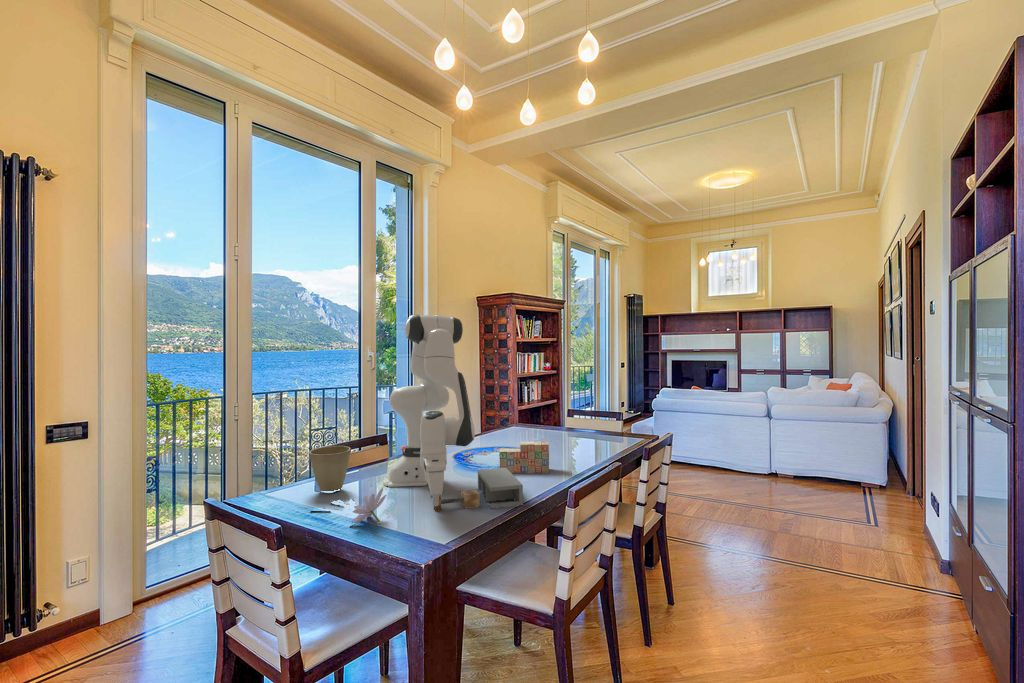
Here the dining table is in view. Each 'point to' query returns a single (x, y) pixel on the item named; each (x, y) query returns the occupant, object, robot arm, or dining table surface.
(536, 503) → the dining table surface
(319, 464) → the plant pot
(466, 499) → the toy hammer
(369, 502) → the water lily
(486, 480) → the shelf
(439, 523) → the dining table surface
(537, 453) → the stack of blocks
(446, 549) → the dining table surface
